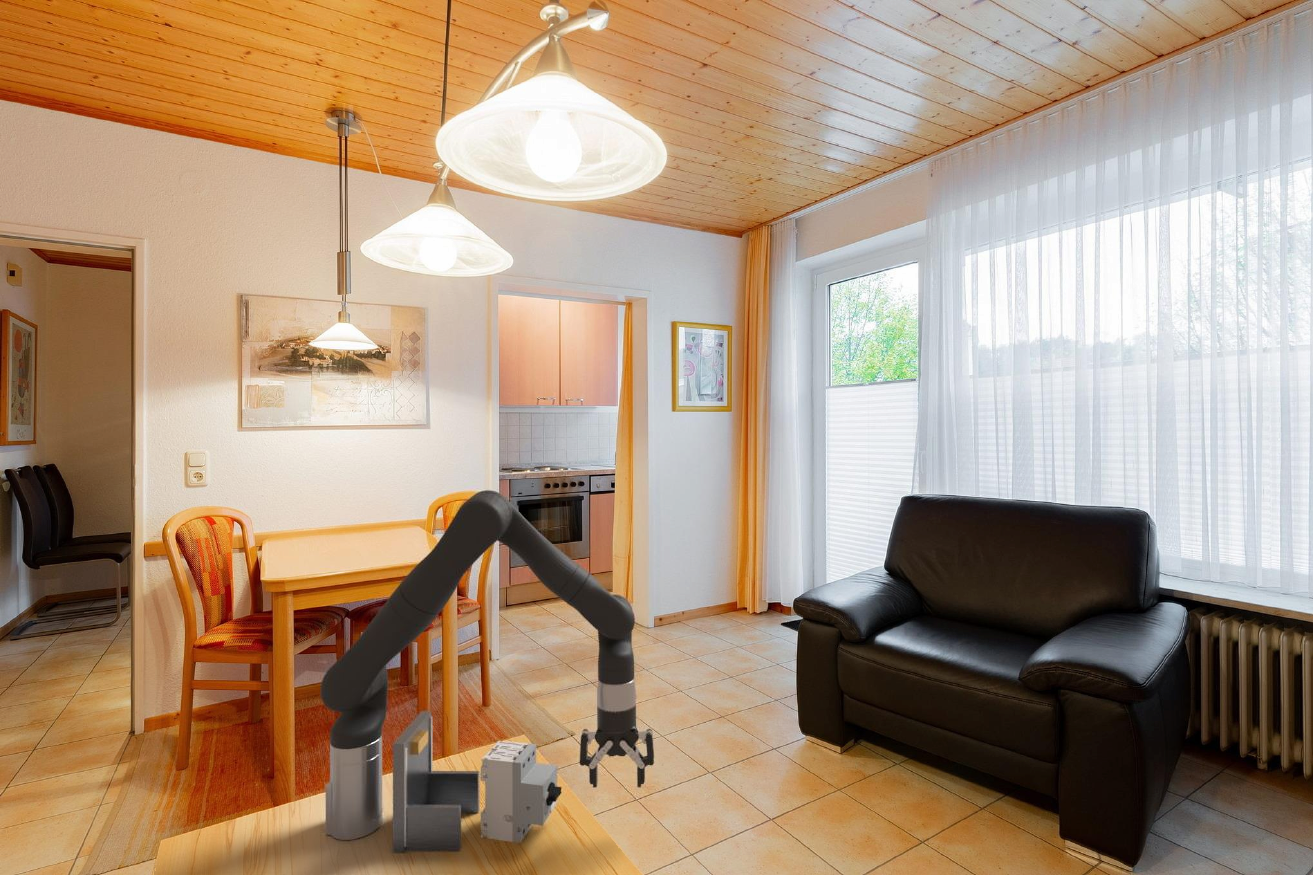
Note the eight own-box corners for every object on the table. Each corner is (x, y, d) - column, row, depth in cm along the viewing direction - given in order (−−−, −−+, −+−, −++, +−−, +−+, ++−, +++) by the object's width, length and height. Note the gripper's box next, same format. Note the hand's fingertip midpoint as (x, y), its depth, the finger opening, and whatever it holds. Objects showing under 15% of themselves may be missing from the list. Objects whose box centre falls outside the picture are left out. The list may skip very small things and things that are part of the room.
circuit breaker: (551, 846, 119) (551, 766, 119) (480, 837, 122) (480, 758, 122) (565, 822, 126) (565, 747, 126) (498, 814, 129) (498, 740, 129)
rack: (393, 852, 117) (392, 743, 117) (421, 808, 131) (421, 710, 131) (458, 853, 117) (458, 743, 117) (480, 808, 131) (479, 711, 131)
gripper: (577, 709, 120) (578, 796, 120) (653, 709, 120) (654, 796, 120) (582, 694, 128) (583, 775, 128) (653, 693, 128) (654, 774, 128)
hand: (617, 785), depth 124 cm, fingers open, 8 cm apart
